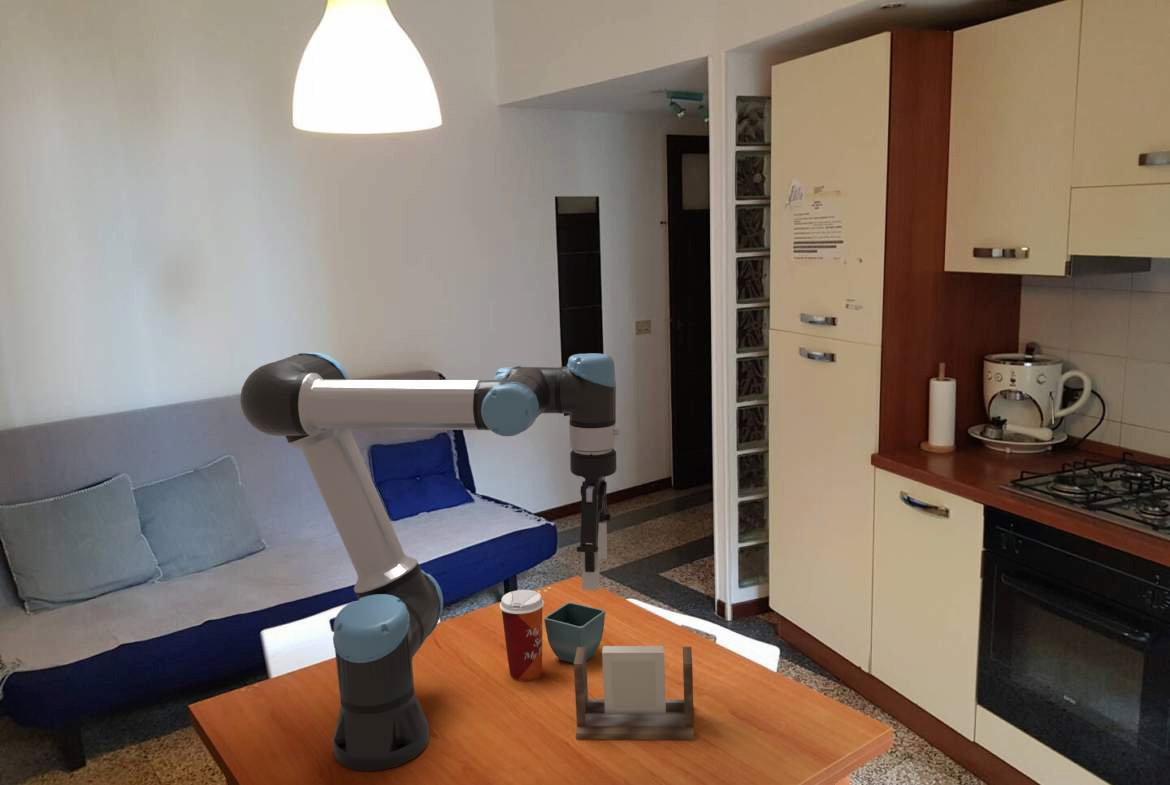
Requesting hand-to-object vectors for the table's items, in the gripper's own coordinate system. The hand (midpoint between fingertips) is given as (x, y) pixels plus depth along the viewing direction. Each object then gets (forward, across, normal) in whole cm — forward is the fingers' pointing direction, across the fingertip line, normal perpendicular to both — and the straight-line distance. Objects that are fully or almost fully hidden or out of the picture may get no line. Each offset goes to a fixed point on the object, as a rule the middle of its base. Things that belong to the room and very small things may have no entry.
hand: (595, 573), depth 149 cm
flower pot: (+25, +18, +6) cm, 31 cm away
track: (+24, -4, -7) cm, 26 cm away
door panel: (+23, -4, -7) cm, 25 cm away
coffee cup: (+25, +12, +15) cm, 31 cm away
